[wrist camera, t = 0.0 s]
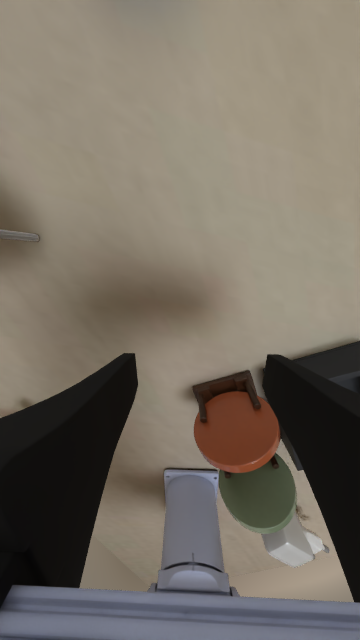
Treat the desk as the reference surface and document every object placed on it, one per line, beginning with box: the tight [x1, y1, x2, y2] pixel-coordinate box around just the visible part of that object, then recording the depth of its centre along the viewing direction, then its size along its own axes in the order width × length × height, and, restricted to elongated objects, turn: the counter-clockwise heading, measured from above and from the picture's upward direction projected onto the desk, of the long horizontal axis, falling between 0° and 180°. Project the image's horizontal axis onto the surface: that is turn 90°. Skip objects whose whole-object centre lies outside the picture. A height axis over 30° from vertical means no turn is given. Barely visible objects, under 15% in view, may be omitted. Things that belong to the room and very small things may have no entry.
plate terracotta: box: [194, 391, 280, 473], centre depth 18 cm, size 1×8×8 cm, turn 110°
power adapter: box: [261, 511, 329, 568], centre depth 28 cm, size 11×5×6 cm, turn 51°
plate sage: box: [219, 453, 297, 534], centre depth 21 cm, size 1×8×8 cm, turn 110°
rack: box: [193, 371, 279, 479], centre depth 22 cm, size 12×7×5 cm, turn 20°
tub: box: [263, 341, 360, 471], centre depth 21 cm, size 12×11×4 cm
